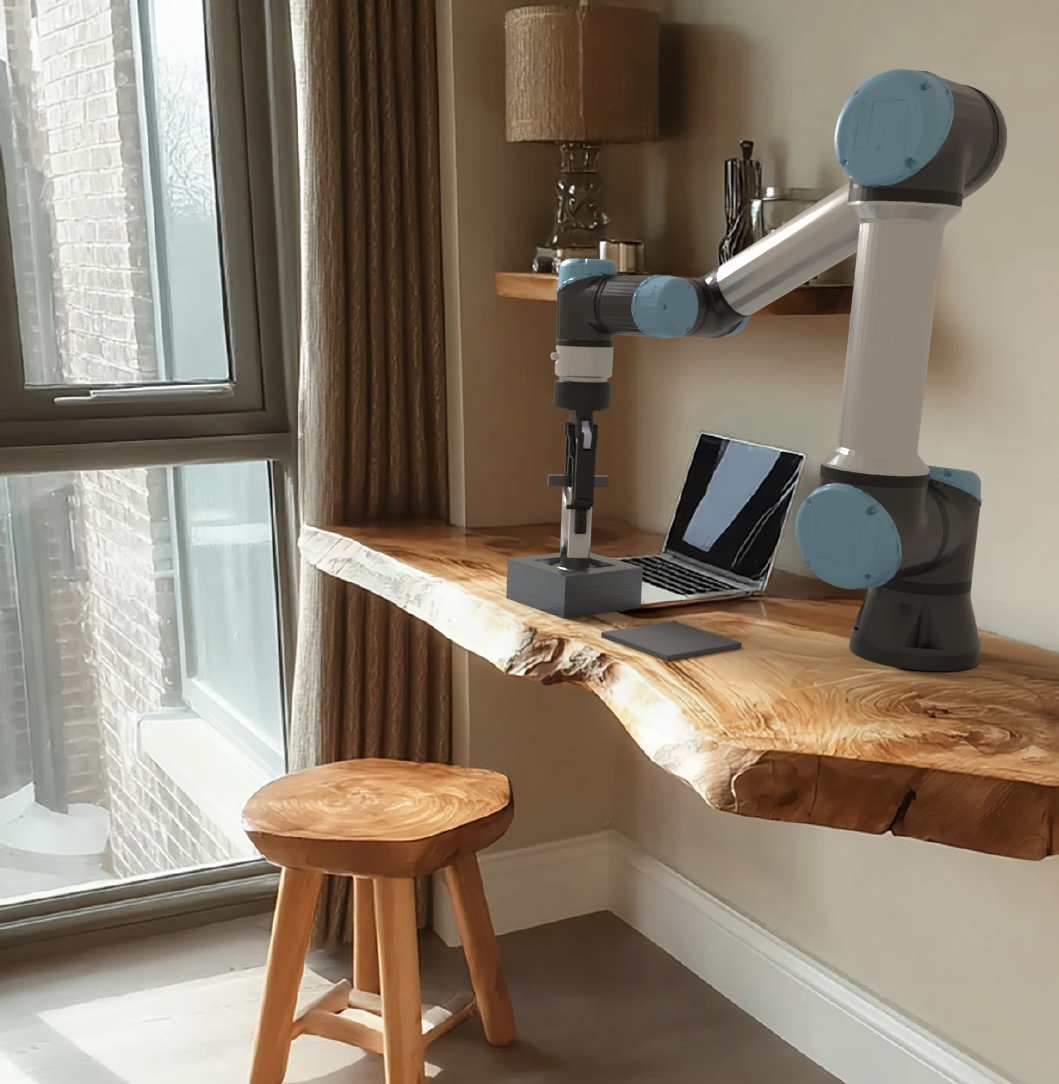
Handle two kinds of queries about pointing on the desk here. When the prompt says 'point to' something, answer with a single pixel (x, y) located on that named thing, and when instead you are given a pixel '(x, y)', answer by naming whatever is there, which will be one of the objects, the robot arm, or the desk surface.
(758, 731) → the desk surface
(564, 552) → the chuck key
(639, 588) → the block
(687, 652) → the mat
